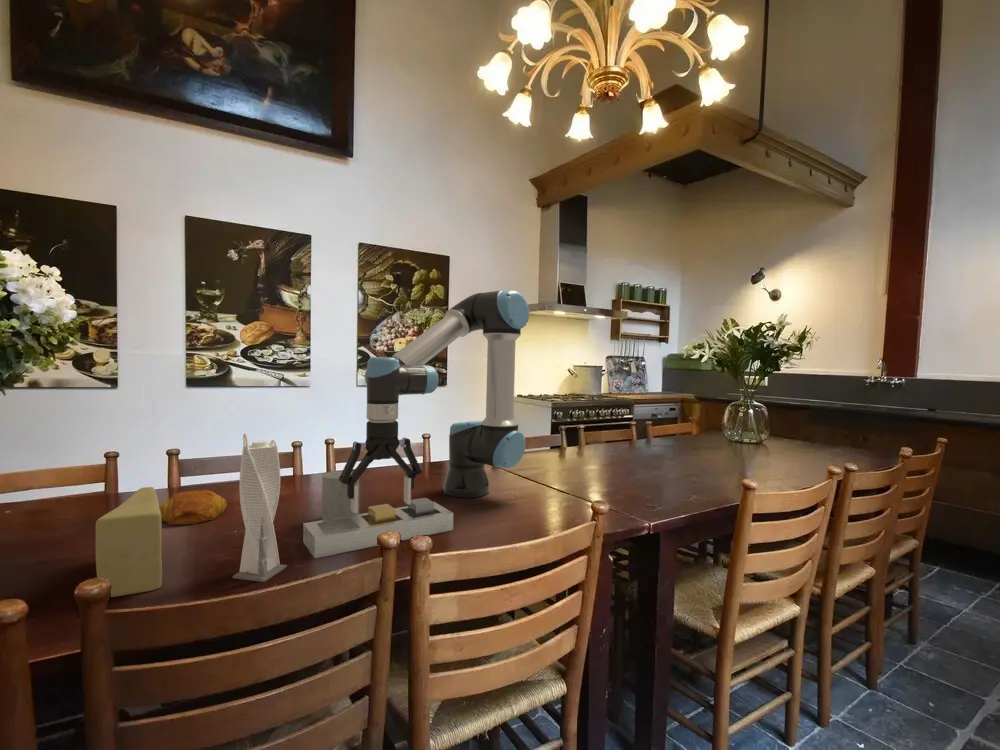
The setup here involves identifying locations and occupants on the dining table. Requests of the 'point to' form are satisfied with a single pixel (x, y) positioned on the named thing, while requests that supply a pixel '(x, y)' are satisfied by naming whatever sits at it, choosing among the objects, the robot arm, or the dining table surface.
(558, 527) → the dining table surface
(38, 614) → the dining table surface
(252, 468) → the skyscraper
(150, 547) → the cheese
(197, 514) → the croissant
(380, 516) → the tan foam cube
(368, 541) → the tray
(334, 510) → the grey flat-topped mottled cylinder
